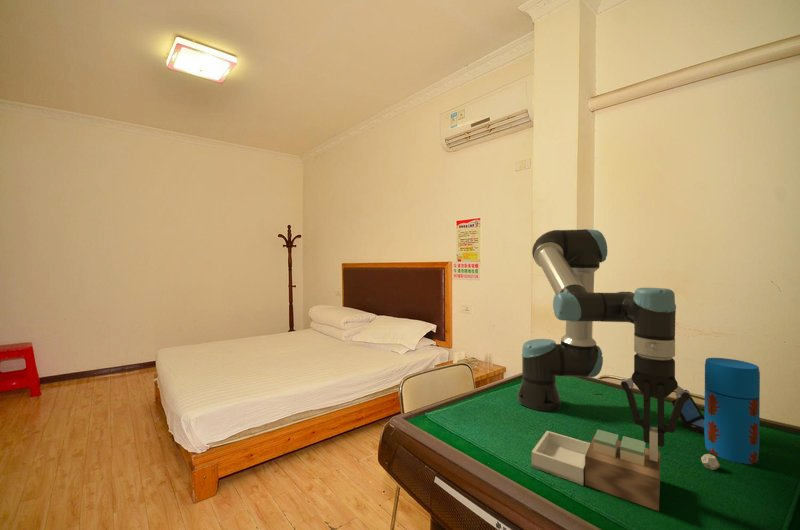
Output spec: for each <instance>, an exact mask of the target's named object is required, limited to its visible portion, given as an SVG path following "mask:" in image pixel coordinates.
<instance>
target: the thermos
mask: <svg viewBox="0 0 800 530" xmlns="http://www.w3.org/2000/svg"><path fill="white" fill-rule="evenodd" d="M760 376H761V372H760V368H759V366H758V365H757V364H754V363H752V362H748V361H744V360H739V359H733V358H732V359H731V358H723V357H707V358H706V359H705V362H704V417H705V419H704V434H705V435H704V434H703V435H704V444H705V445H704V447H705V449H706V451H708V452H709V454H710V453H711V455H713V456H715V457H719V458H721V459H723V460H726V461H729V462H732V463H736V462H737V463H736V464H741V463H744V464H743V465H754V464H753V463H756V464H757V463H758V462H759V457H760V456H759V453H760V411H761V410H760V409H761V408H760V405H761V402H760V400H761V399H760V398H761V395H760V394H761V393H760V391H761V390H760V388H761V385H760V383H761V377H760ZM757 461H758V462H757Z"/></svg>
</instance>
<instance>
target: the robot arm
mask: <svg viewBox="0 0 800 530" xmlns="http://www.w3.org/2000/svg"><path fill="white" fill-rule="evenodd" d="M531 253H532V254H531V255H532V258H533V260H534V262H535V264H536V265H537V266H538V267H541V270H542V271H543V273H544V275H545V276H546V278H547V280H548V282H549V284H550V286H551V288H552V290H553V292H554V296H553V300H552V308H553V314H554V317H555V318H556V319H557V320H559V321H565V334H564V335H563V336H562V337H561V338H560V343H556V341H555V340H553V339H551V338H535V339H530V340H527V341H525V342H524V343H523V345H522V352H521V357H522V359H521V360H522V361H521V362H522V369H521V370H522V371H521V373H522V375H521V376H522V377H521V378H522V379H521V383H520V387H519V389H518V391H517V402H518V401H519V402H520V403H521V404H522V406H523V405H524V406H523V407H525V406H526V407H525V408H528V409H531V410H536V411H544V412H545V411H546V412H548V411H549V412H550V411H557V410H559V409H561V407H562V399H561V396H560V394H559V390H558V386H557V384H556V383H557V382H556V380H557V379H556V378H557V377H566V378H567V377H570V378H572V377H573V378H583V379H585V378H595V377H597V376H598V375H599V374H600V373H601V371H602V368H603V362H604V357H603V351H602V348H601V347H600V346H599V345H597V341H596V340H595V339H594V338H593V322H606V323H607V322H608V323H609V322H610V323H630V324H632V325H633V326H634V333H633V338H634V339H633V343H634V344H633V345H634V346H633V349H634V350H633V351H634V353H635V354H634V355H633V358H634V359H633V373H632V375H631V377H630V378H627V379H624V378H623V379H621V382H620V386H621V387H622V389H623V390H624V392H625V395H626V397H627V402H628V404H629V408H630V413H631V415H632V420H633V423H634V425H636V426H640V427H641V428H642V429H643V440H642V441H644V442H645V444H649V449H650V453H649V460H653V461H656V462H658V451H659V447H661V448H664V446H665V434H666V433H671V434H673V433H675V431H676V429H677V425H678V422H679V419H680V414H681V411H682V408H683V405H684V403H685V402H686V401H687V400H688V399H689V398H690V396H691V394H690V391H689V390H688V389H684V388H682V387H681V386H680V385H679V384H678V381H677V379H676V360H675V359H674V357H676V316H677V315H676V314H677V313H676V312H677V311H676V310H677V304H676V298H675V297H676V296H675V292H674V291H673V290H672V289H669V288H663V287H662V288H660V287H638V288H636V289H635V291H634V292H632V291H617V292H594V291H595V289H594V288H595V272H596V271H597V270H599V269H600V267H601V266H600V263H604V262H605V261H606V260H607V257H608V243H607V240H606V237H605V235H603V233H602V232H601V231H599V230H598V229H589V228H588V229H586V228H584V229H554V230H549V231H547V232H545V233H543V234H541V236H539V237H538V238H537V239H536V241H535V242H534V244H533V246H532V251H531ZM634 384H635V385H634ZM634 386H636V388H637V389H638V390H639V392H640V393H641V394H642V395H643V397H642V398H643V399H642V400H643V407H642V408H643V418H641V414H640V411H639V407H638V404H637V400H636V397H635V392H634V390H633V389H634ZM675 391H676V392H675ZM673 392H675V396H676V399H675V400H676V401H675V404H674V406H673V407H672V411H671V413H670V417H669V420H668V422H667V423H666V424H665V398H667V397H669V396H670V395H671V394H672V393H673ZM651 397H654V398H656V399H657V408H656V409H657V415H656V416H657V425H656V426H657V427H653V426H651ZM519 402H518V403H519ZM520 403H519V404H520ZM521 404H520V405H521Z"/></svg>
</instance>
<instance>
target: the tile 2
mask: <svg viewBox="0 0 800 530" xmlns="http://www.w3.org/2000/svg"><path fill="white" fill-rule="evenodd" d="M621 441H622V442H621V446H620V459H622V460H625V461H628V462H632V463H635V464H638V465H642V466H644V462H645V448H646V443H645V442H644V440H640V439H636V438H633V437H628V436H624V435H623V436H622V439H621Z"/></svg>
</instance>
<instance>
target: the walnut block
mask: <svg viewBox="0 0 800 530" xmlns="http://www.w3.org/2000/svg"><path fill="white" fill-rule="evenodd" d="M595 434H596V433H594V435H593V436H592V439H591V441H590V442H589V443H590V446H589V448H588V450H587V452H586V455H585V482H584V486H586V487H590V488H592V489H595V490H598V491H601V492H604V493H606V494H609V495H612V496H615V497H618V498H620V499H623V500H626V501H628V502H631V503H635V504H637V505H640V506H643V507H645V508H649V509H651V510H654V511H657V512H659V511H660V491H661V490H660V489H661V451H659V450H658V462H656V461H653V460H649V453H650V448H649V447H645V462H644V466H642V465H638V464H635V463H632V462H628V461H625V460H622V459H620V446H621V442H622V440H618V450H617V453H616V457H612V456H608V455H605V454H602V453H598V452H595V451H594V437H595Z"/></svg>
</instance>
